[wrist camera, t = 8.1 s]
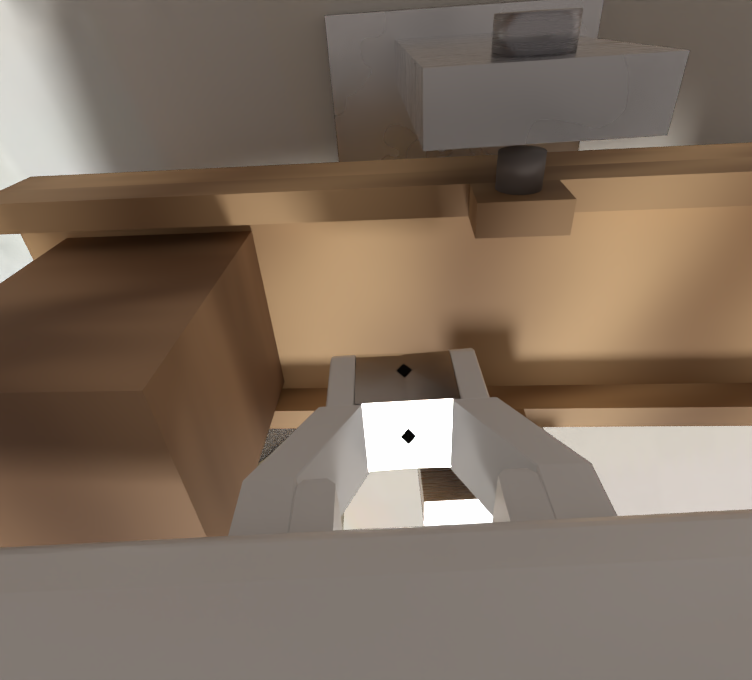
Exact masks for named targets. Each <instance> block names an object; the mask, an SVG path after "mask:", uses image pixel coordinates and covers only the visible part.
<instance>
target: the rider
mask: <svg viewBox="0 0 752 680" xmlns="http://www.w3.org/2000/svg"><path fill="white" fill-rule="evenodd" d="M283 385H284V377H283V373H282V368H281V363H280V359H279V354H278V349H277V345H276V340H275V336H274V331H273V326H272V322H271V317H270V313H269V308H268V303H267V299H266V294H265V290H264V285H263V280H262V276H261V271H260V267H259V262H258V257H257V253H256V248H255V243H254V239H253V234H252V231H235V232H209V233H184V234H158V235H132V236H107V237H81V238H66V239H65V240H63V241H62V242H60V243H59V244H57V245H56V246H54V247H53V248H51V249H50V250H48V251H47V252H46V253H44V254H43V255H41V256H40V257H38V258H37V259H35V260H34V261H32V262H31V263H29V264H28V265H27V266H25V267H24V268H22V269H21V270H19V271H18V272H16V273H15V274H13V275H12V276H10V277H9V278H8V279H6V280H5V281H3V282H2V283H0V547H18V546H38V545H58V544H78V543H97V542H117V541H137V540H156V539H176V538H196V537H215V536H228V534H229V531H230V527H231V523H232V519H233V516H234V512H235V508H236V504H237V501H238V497H239V493H240V489H241V486H242V482H243V480H244V479H245V478H246V477H247V476H248V475H249V474H250V473H251V472H253V471H254V470H255V469H256V468H257V466H258V463H259V459H260V456H261V453H262V450H263V447H264V444H265V441H266V438H267V435H268V431H269V428H270V425H271V422H272V419H273V416H274V413H275V410H276V407H277V403H278V400H279V397H280V394H281V391H282V388H283Z"/></svg>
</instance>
